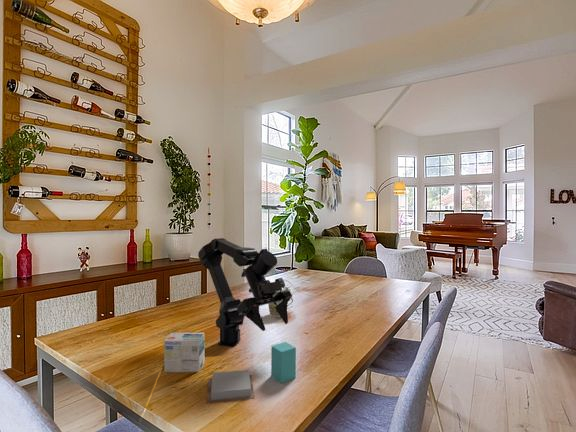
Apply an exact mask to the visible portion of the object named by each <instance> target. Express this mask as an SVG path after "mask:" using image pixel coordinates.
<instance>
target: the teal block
mask: <svg viewBox="0 0 576 432" xmlns="http://www.w3.org/2000/svg"><path fill="white" fill-rule="evenodd" d="M270 350H271V352H270V353H271V356H270V357H271V359H270V361H271V362H270V365H271V367H270V371H271V372H270V373H271V374H270V376H271V377H272V378H273V379H275V380H276V381H278V383H280V384H284V383H287V382H290V381H291V380H295V379H296V377H297V374H296V373H297V371H296V369H297V366H296V363H297V361H296V360H297V347H295V346H294V345H292V344H290V343H288V342H287V341H284V342H280V343H277V344H274V345H271V349H270Z"/></svg>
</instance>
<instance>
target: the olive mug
mask: <svg viewBox="0 0 576 432" xmlns="http://www.w3.org/2000/svg"><path fill="white" fill-rule="evenodd" d="M279 292H280V291H276V294H274V295H273V296H275V295H277V294H278V293H279ZM268 301H269V300H268ZM290 301H291V302H290V303H288V304H287V308H288V307H289V306H290V305H291V304H292V303H294V300H293V297H291V298H290ZM267 305H268V310H269V315H270V316H271V317H272V318H277V319H278V318H281V317H280V315H279V313H278V312H277V310H276V308H275V307H276V305H275V304H274V303H270V304H267Z"/></svg>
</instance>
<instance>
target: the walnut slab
mask: <svg viewBox="0 0 576 432" xmlns="http://www.w3.org/2000/svg"><path fill="white" fill-rule="evenodd" d="M249 377H250V384H251V397H240V398H230V399H219V400H211V388H212V377H210V378H208V380H207V381H208V382H207V391H206V402H205V404H213V403H223V402H225V403H226V402H234V401H245V400H246V401H247V400H253V399H254V400H255V399H256V398H255V391H254V384H253V378H252V374H249Z"/></svg>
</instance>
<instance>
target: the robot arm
mask: <svg viewBox="0 0 576 432" xmlns="http://www.w3.org/2000/svg"><path fill="white" fill-rule="evenodd" d="M224 254H225V256H228V257H230V258H232V260H233V262H234V263H235V264H236V265H237V266H238V267H246V268H243V269H242V273H241V278H246V282H247V283H248V286H249V289H248V292H249V294H251V293H252V296H253V297H247V298H244V299H242V300H241V299H240V298H237V299H236V298H234V296H233V293H232V290H231V288H230V285H229V283H228V280H227V278H226V276H225V272H224V270H223V267H222V259H223V255H224ZM197 257H198V259H199V260H200V263H201V265H202V266H203V267H204V268H206V269H207V270H208V272H209V275H210V277H211V280H212V283H213V286H214V288H215V291H216V294H217V298H218V299H219V302H220V306H219V310H218V314H219V315H218V317H217V319H216V320H215V325H216V328H218V329H219V342H218V343H217V345H219V346H227V347H228V346H229V347H235V346H237V345H238V343H239V342H240V341H241V329H240V326H242V325H243V324H244V320H245V317H246V318H248V320H250V321H251V322H252V323H253V324H255V325H256V326H257V327H258V328H259V330H261V331H262V332H264V331H266V327H265V323H264V321H263V318H262V315H261V313H260V307H261V306H265V305H268V304H270V303H274V304H275V305H276V307H275V308H276V310H277V312H278V313H279V315H280V317H279V318H281V320H282V321H283V322H284V324H285V325H287V324H288V323H289V319H288V307H287V305H288V304H289V302H290V301H291V299H290V298H293V295H292V293H291V291H290V290H288V289H285V290H283V288H285V286H286V284H285V281H284V279H283V277H278V278H275V280H274V281H273V282H271V281H270V279H266V277H265V276H266V275H267V274H269V273H270V272H271V271H272V270H273V268H275V266H277V264H278V259H277V257H276V256H275V255H274V254H273V253H272V252H271V251H269V250H268V248H261V250H260V251H259V252H258V250H257V249H256V248H253V247H246V246H245V247H242V246H241V245H237V244H235V243H233V242H231V241H229V240H227V239H226V238H224V237H220V238H219V237H218V238H213V239H212V240H211V241H210V242H208V243H207V244H205V245H203V246H202V247H201V248H200V250H199V251H198V255H197ZM276 291H280V292H279V293H278V294H277V295H275V296H273V295H274V294H276ZM268 300H269V301H268Z"/></svg>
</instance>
